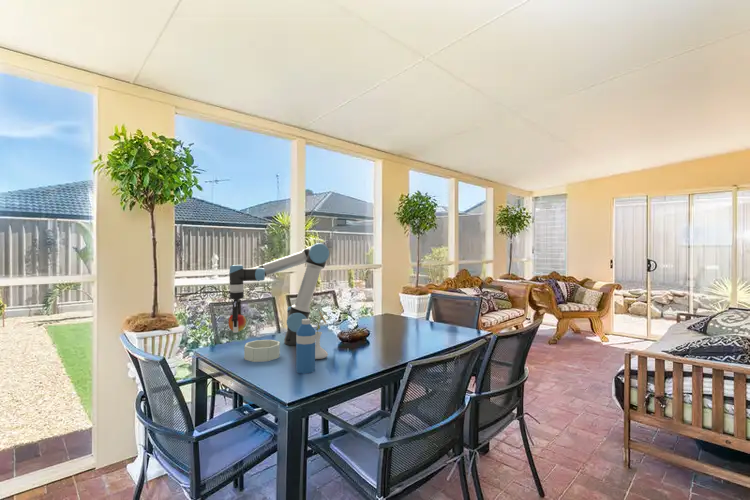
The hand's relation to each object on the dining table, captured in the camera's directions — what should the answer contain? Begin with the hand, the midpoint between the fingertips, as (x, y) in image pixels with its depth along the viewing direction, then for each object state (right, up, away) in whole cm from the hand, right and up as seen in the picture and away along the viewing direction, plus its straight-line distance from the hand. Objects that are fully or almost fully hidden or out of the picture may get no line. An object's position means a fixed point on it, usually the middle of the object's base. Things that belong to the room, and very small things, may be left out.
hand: (237, 330), depth 218 cm
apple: (0, -1, 0) cm, 1 cm away
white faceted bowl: (+18, -12, -11) cm, 24 cm away
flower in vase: (+48, -13, -11) cm, 51 cm away
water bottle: (+45, -13, -33) cm, 57 cm away
